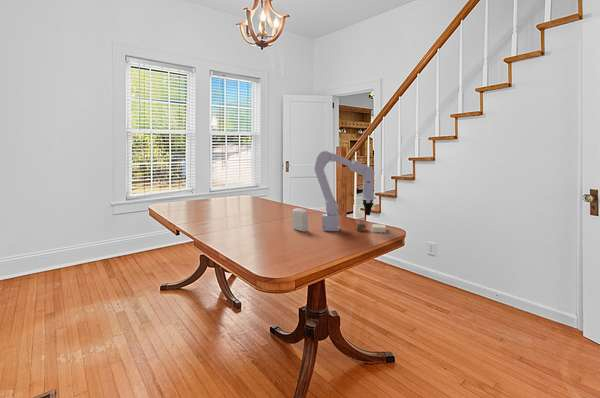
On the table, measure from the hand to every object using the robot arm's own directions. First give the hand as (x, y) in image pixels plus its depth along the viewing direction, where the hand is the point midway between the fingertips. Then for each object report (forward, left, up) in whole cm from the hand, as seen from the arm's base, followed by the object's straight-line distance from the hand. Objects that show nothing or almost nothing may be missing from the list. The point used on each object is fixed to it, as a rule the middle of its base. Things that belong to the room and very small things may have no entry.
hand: (367, 213), depth 179 cm
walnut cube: (-3, 0, -10) cm, 10 cm away
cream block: (+6, 0, -10) cm, 12 cm away
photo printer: (-37, -3, -10) cm, 39 cm away
